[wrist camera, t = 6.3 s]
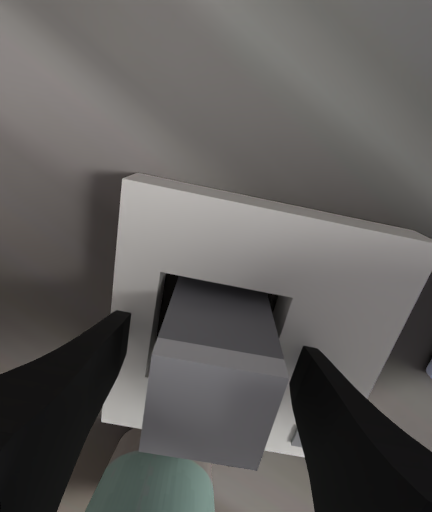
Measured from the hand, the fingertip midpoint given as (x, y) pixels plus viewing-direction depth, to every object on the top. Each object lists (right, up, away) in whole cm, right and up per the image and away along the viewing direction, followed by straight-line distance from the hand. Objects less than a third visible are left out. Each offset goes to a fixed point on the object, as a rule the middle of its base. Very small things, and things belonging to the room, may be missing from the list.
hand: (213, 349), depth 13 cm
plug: (0, +1, +3) cm, 3 cm away
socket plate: (+2, +1, +3) cm, 3 cm away
